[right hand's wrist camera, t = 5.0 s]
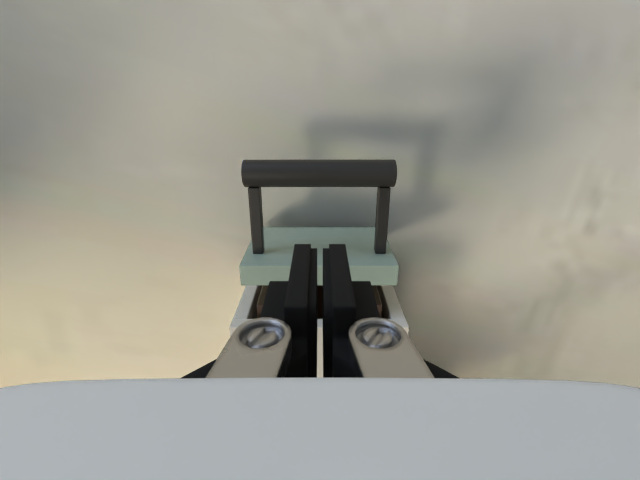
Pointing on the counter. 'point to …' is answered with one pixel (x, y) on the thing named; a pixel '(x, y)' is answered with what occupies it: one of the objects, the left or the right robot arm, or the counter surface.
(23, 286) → the counter surface
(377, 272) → the drawer
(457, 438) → the right robot arm
